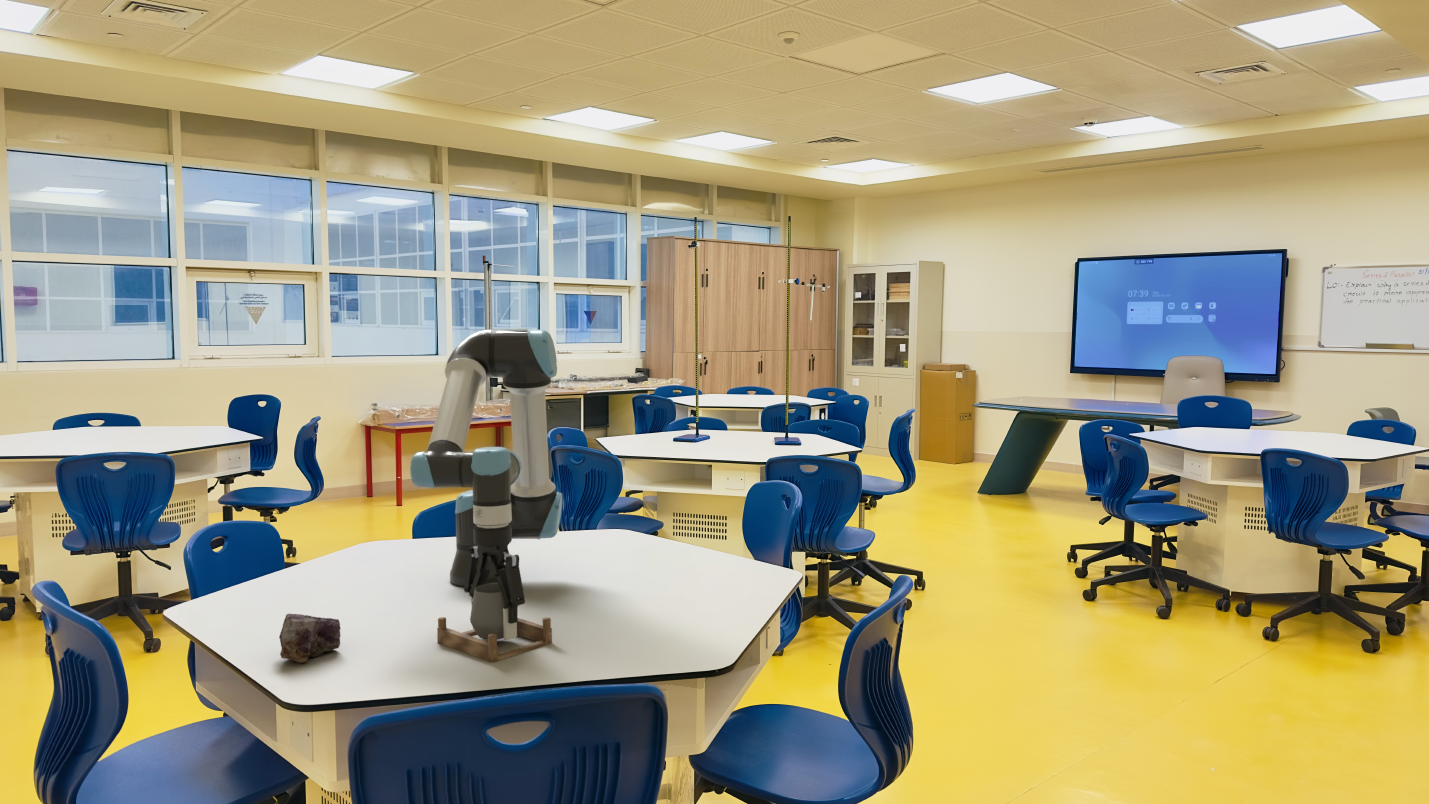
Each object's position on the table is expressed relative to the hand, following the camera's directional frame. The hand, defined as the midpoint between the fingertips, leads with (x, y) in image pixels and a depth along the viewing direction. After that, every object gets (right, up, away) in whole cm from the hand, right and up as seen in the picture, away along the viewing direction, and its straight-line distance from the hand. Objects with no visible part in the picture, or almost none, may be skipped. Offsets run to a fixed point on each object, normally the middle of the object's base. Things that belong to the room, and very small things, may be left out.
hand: (494, 632), depth 189 cm
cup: (0, -1, 0) cm, 1 cm away
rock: (-35, -3, -7) cm, 36 cm away
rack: (0, -2, 0) cm, 2 cm away
